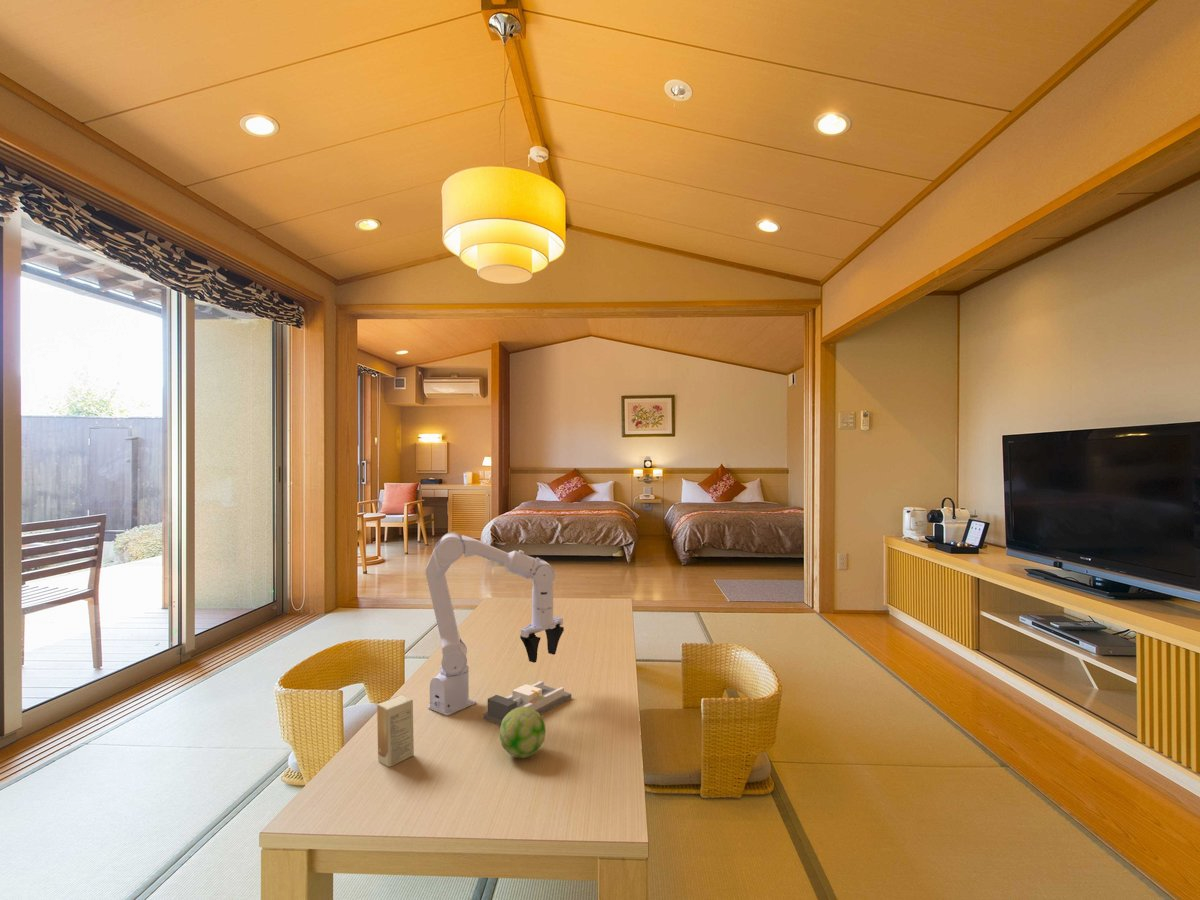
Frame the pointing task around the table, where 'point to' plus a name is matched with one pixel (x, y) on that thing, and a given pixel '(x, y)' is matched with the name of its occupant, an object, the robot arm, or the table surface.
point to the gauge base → (504, 705)
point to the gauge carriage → (525, 694)
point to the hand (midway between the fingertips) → (542, 657)
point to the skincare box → (395, 730)
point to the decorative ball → (522, 732)
